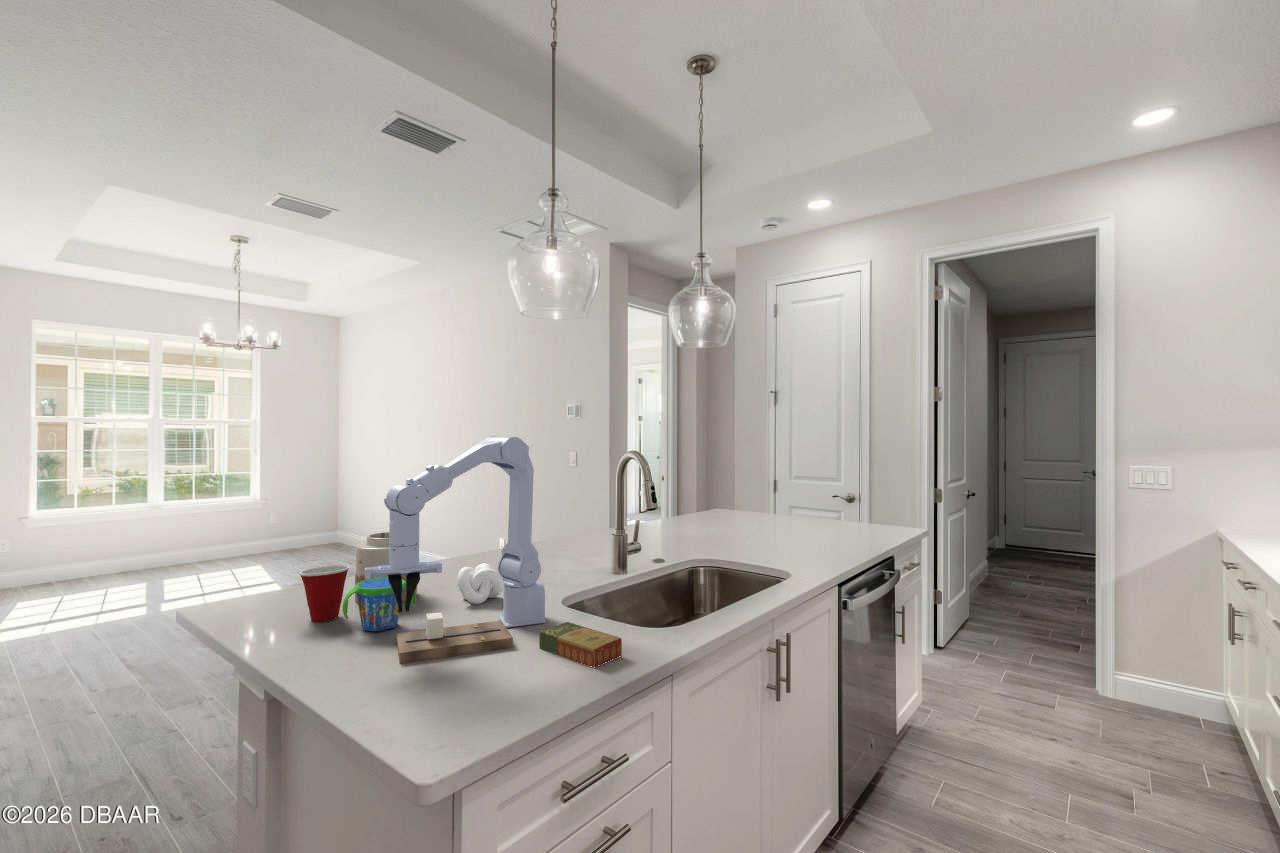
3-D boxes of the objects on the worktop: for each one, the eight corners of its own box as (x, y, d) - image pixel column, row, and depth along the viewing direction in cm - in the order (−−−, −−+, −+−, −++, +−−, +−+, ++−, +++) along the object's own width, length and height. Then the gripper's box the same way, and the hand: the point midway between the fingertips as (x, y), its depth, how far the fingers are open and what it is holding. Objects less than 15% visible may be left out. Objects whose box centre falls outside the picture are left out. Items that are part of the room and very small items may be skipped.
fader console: (501, 629, 137) (501, 619, 137) (512, 647, 126) (512, 636, 126) (396, 642, 128) (396, 631, 128) (399, 663, 117) (399, 651, 117)
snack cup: (410, 615, 146) (410, 573, 146) (421, 627, 137) (421, 583, 137) (339, 626, 138) (339, 582, 138) (345, 640, 129) (346, 593, 129)
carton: (593, 670, 115) (593, 648, 115) (538, 650, 126) (538, 629, 126) (622, 658, 122) (622, 636, 122) (567, 639, 132) (567, 619, 132)
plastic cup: (334, 608, 151) (334, 560, 151) (358, 616, 145) (359, 566, 145) (289, 619, 142) (289, 569, 142) (313, 628, 136) (314, 575, 136)
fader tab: (440, 631, 128) (441, 612, 128) (443, 637, 124) (443, 617, 124) (425, 633, 126) (426, 614, 126) (427, 639, 123) (427, 619, 123)
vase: (403, 606, 153) (403, 540, 153) (343, 605, 154) (344, 540, 154) (425, 590, 169) (426, 530, 169) (371, 589, 169) (371, 529, 169)
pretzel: (508, 593, 166) (508, 561, 166) (498, 607, 154) (498, 571, 154) (466, 593, 166) (467, 561, 166) (453, 606, 154) (454, 571, 154)
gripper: (365, 550, 116) (364, 620, 116) (443, 545, 122) (443, 612, 122) (365, 543, 123) (364, 610, 123) (440, 538, 129) (439, 602, 129)
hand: (403, 610), depth 123 cm, fingers closed
